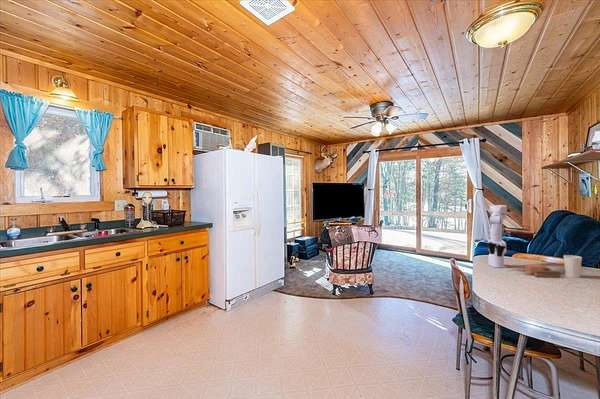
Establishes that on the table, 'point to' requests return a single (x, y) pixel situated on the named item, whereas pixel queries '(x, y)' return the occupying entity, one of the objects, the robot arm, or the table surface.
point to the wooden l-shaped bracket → (547, 273)
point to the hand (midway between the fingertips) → (495, 255)
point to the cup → (572, 266)
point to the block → (533, 268)
